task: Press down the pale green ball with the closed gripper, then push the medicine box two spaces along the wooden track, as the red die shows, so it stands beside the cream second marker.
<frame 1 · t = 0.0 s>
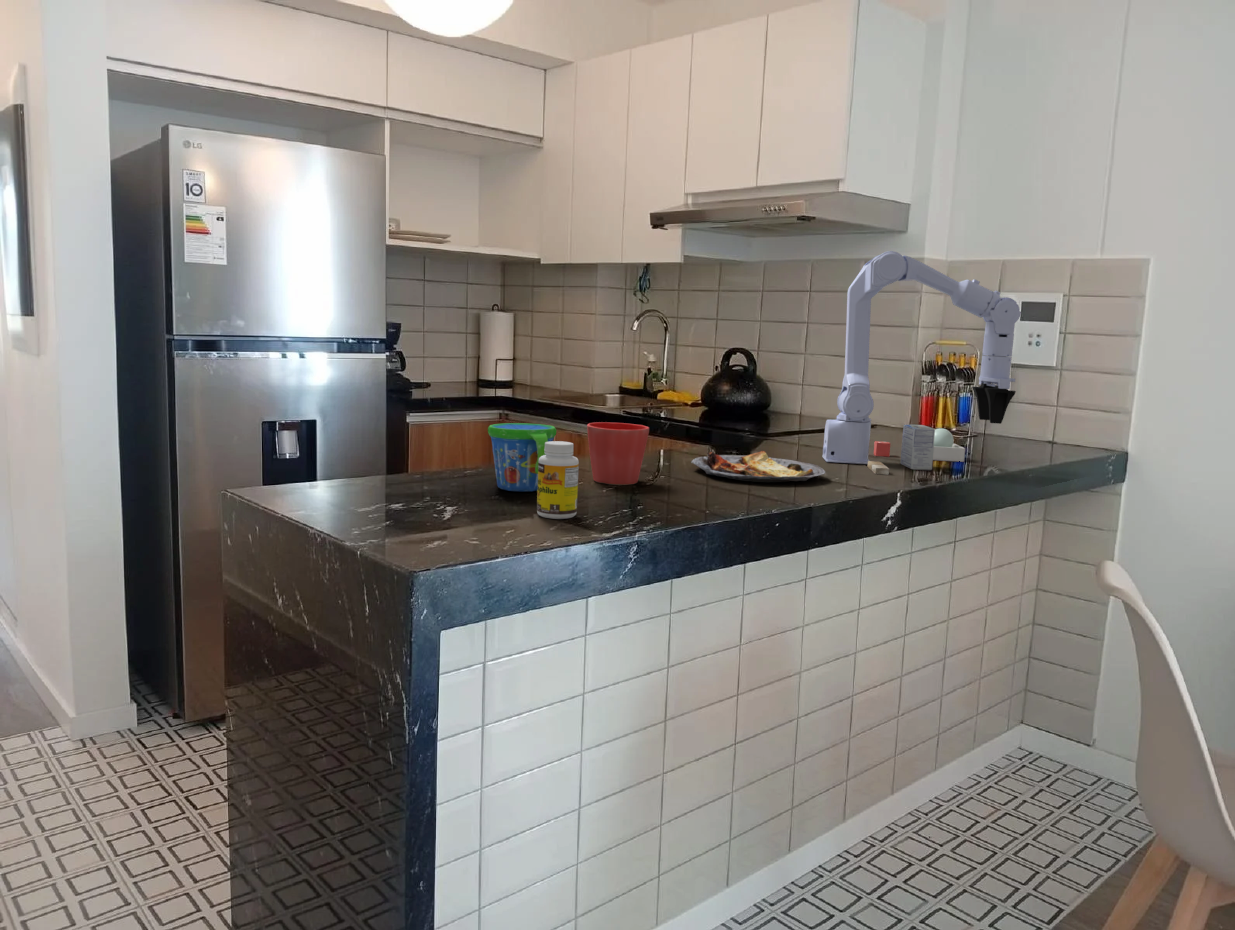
hand: (990, 421, 193), 10 cm above the table, tool pointing down, fingers open, 7 cm apart
snack cup: (520, 490, 148), on the table
supplement bottle: (556, 517, 128), on the table
red die: (881, 455, 210), on the table
white square frame: (938, 458, 210), on the table
flower pot: (615, 482, 159), on the table
medicine box: (915, 468, 193), on the table
game track: (877, 470, 186), on the table
pale green ball: (940, 440, 210), point 4 cm above the table, slide at 0.0 cm
food plate: (756, 477, 174), on the table
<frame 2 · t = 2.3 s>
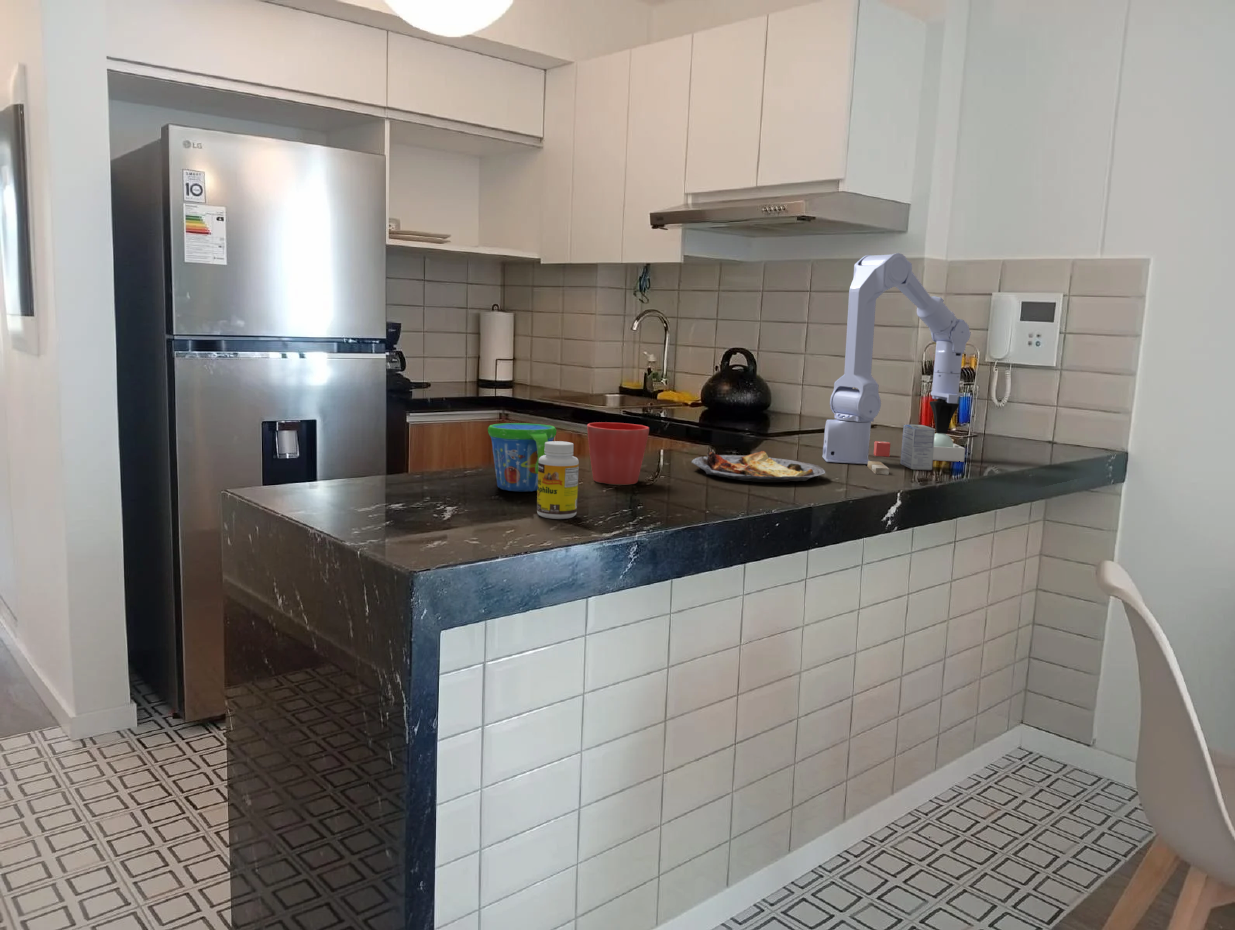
hand: (941, 433, 209), 6 cm above the table, tool pointing down, fingers closed, pressing on pale green ball
pale green ball: (940, 445, 210), point 3 cm above the table, slide at 1.0 cm, touching gripper
everything else where it was.
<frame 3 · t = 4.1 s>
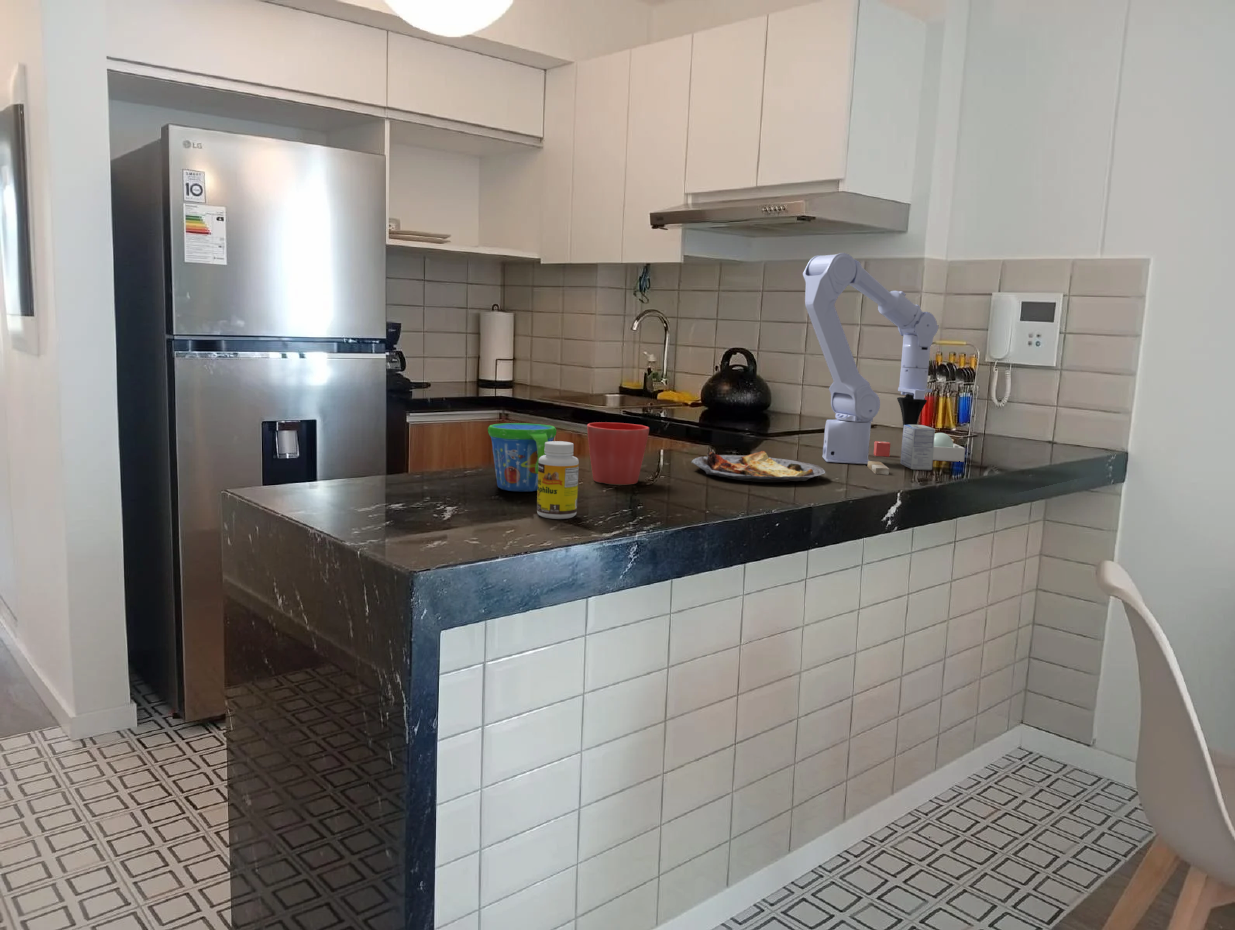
hand: (909, 430, 202), 7 cm above the table, tool pointing down, fingers closed
pale green ball: (940, 445, 210), point 3 cm above the table, slide at 1.0 cm
everything else where it was.
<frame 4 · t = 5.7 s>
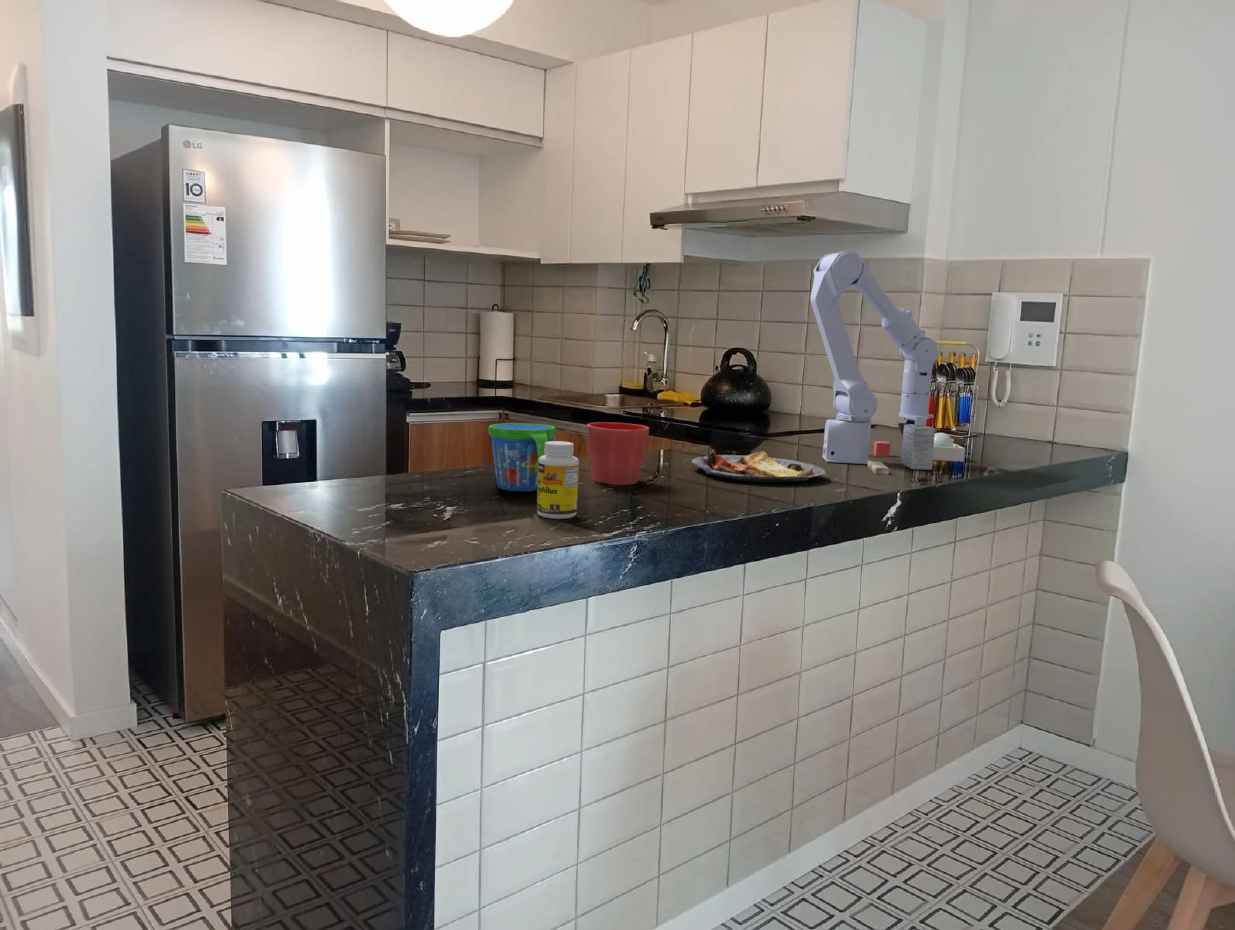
hand: (910, 456, 199), 1 cm above the table, tool pointing down, fingers closed
medicine box: (915, 468, 193), on the table, touching gripper
everything else where it was.
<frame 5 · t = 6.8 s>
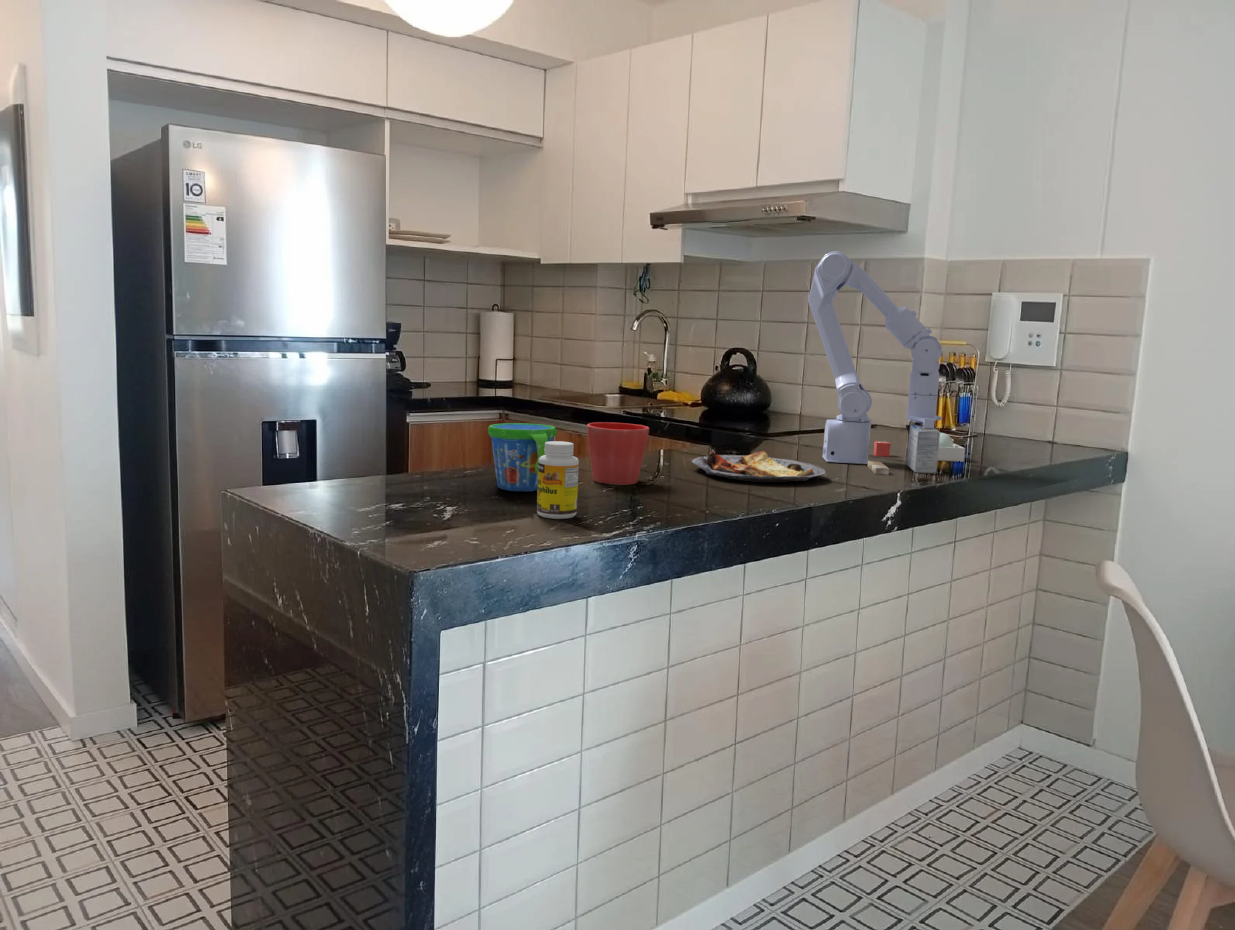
hand: (917, 459, 193), 2 cm above the table, tool pointing down, fingers closed, pressing on medicine box
medicine box: (920, 470, 189), on the table, touching gripper
everything else where it was.
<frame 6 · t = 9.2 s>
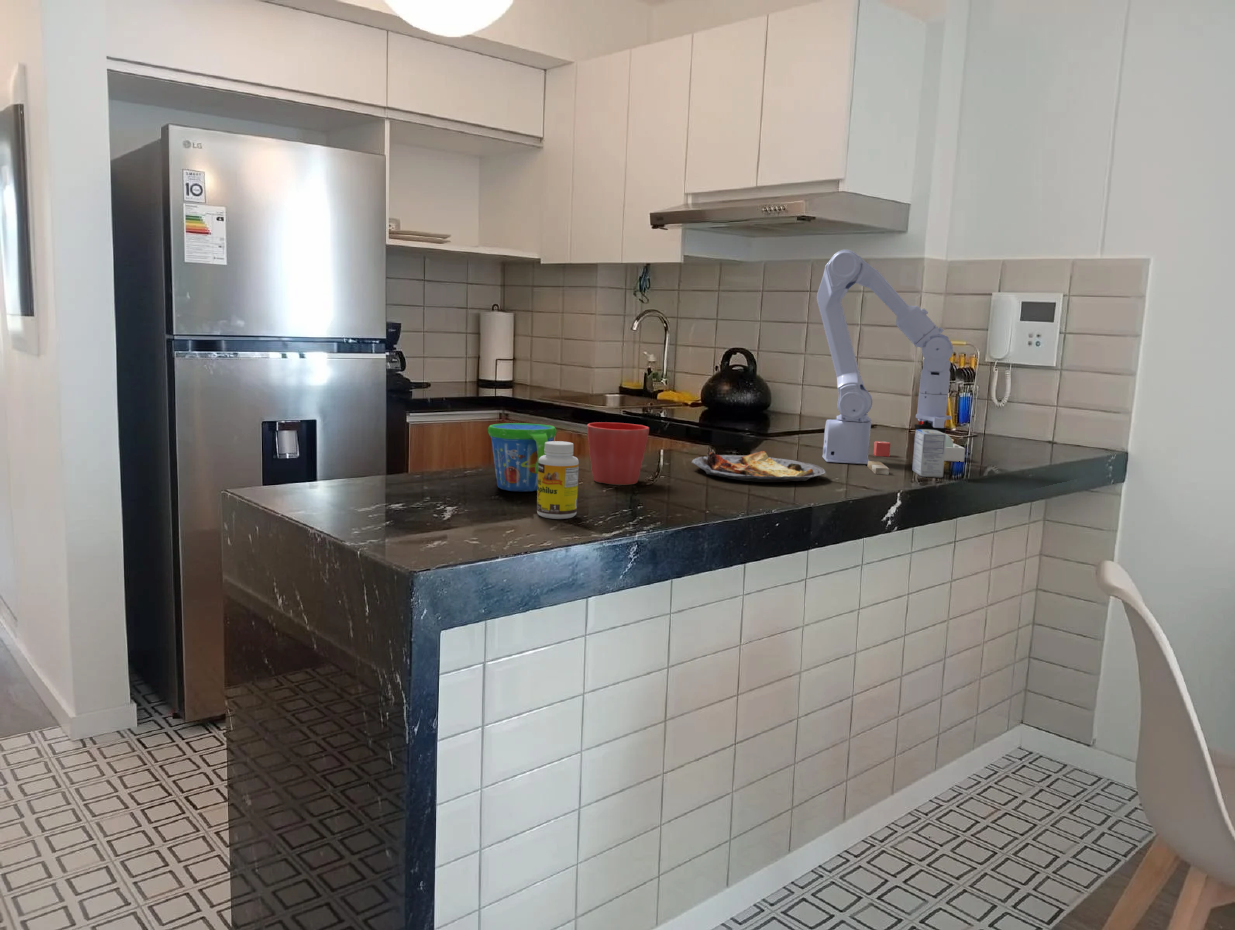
hand: (927, 459, 192), 2 cm above the table, tool pointing down, fingers closed
medicine box: (926, 475, 184), on the table
everything else where it was.
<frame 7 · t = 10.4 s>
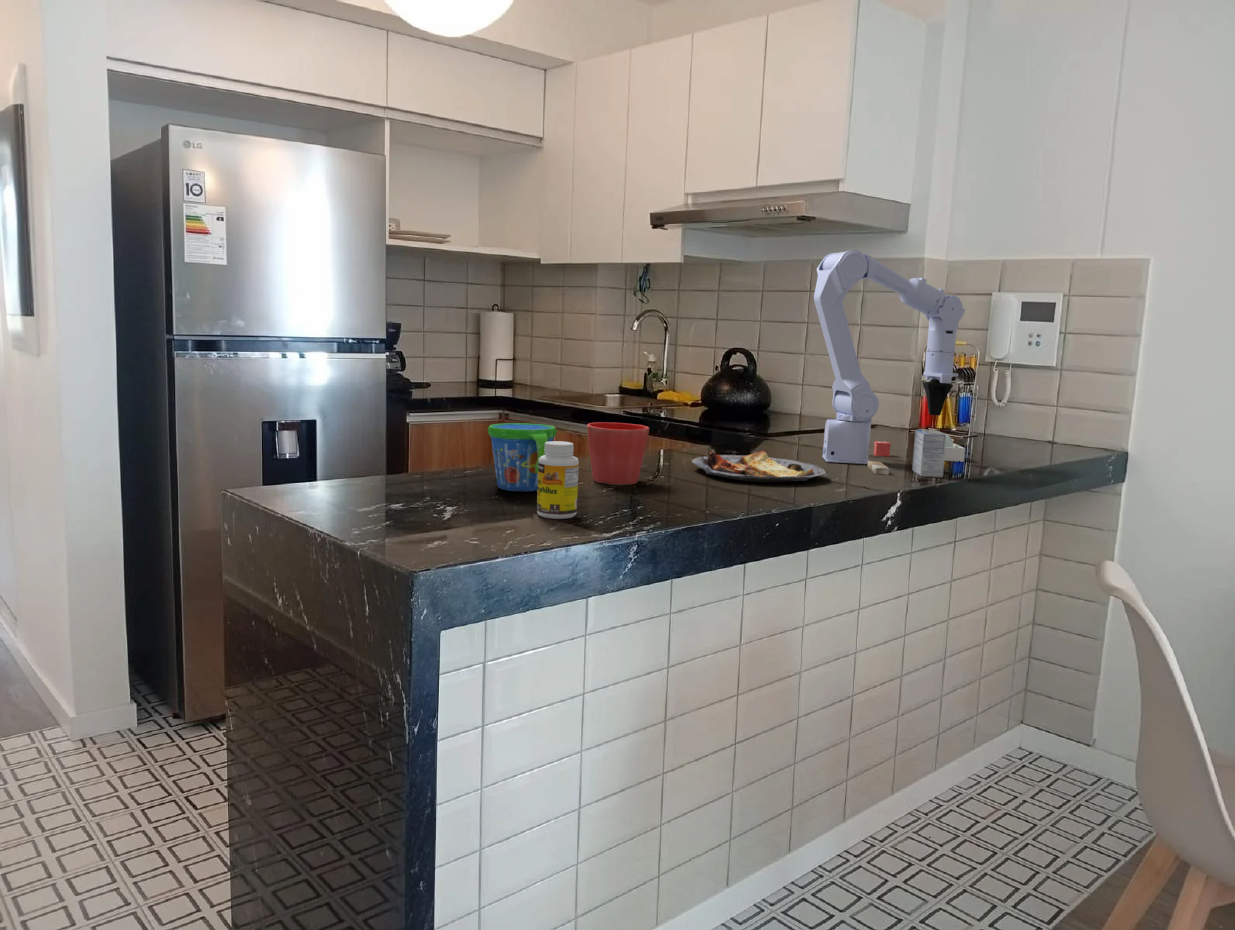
hand: (934, 415, 200), 10 cm above the table, tool pointing down, fingers closed
nothing on the table moved.
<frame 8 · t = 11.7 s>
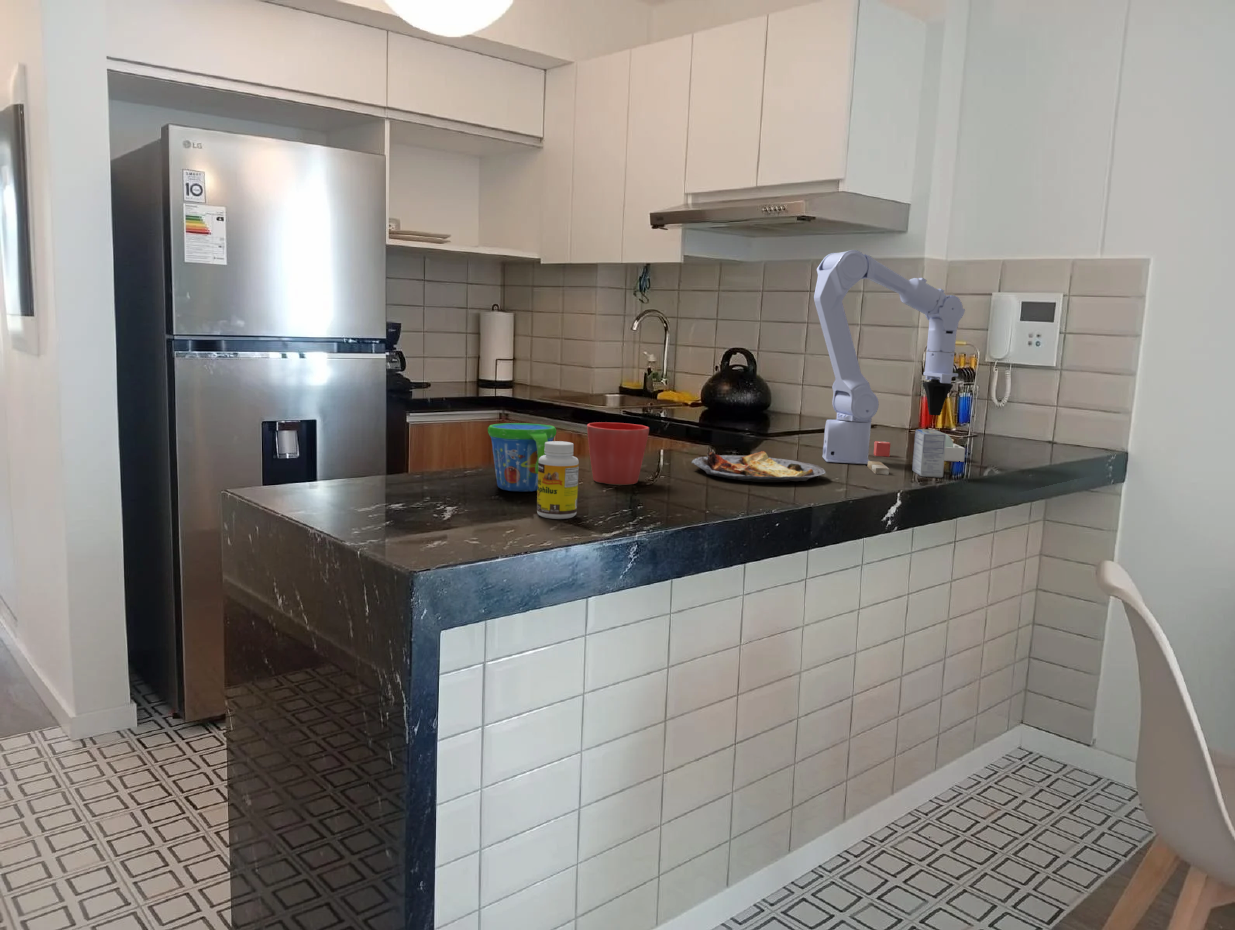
hand: (934, 415, 200), 10 cm above the table, tool pointing down, fingers closed
nothing on the table moved.
at the end: pale green ball slide at 1.0 cm; medicine box 0.3 cm from the target spot, on the table; medicine box tilted 0° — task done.
